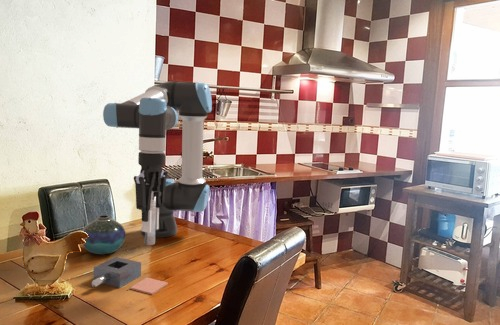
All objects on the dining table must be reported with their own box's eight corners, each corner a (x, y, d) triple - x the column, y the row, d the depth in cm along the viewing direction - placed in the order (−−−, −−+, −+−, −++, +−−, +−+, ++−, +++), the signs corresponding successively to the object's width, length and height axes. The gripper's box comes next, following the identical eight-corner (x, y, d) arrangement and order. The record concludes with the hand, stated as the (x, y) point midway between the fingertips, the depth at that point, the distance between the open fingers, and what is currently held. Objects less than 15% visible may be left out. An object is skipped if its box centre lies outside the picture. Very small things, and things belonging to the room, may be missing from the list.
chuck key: (161, 243, 118) (163, 191, 116) (155, 246, 115) (156, 193, 113) (144, 240, 120) (145, 188, 118) (137, 242, 117) (138, 190, 115)
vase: (99, 242, 155) (99, 209, 154) (133, 247, 151) (133, 214, 149) (71, 255, 141) (71, 219, 139) (108, 261, 136) (108, 224, 135)
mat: (146, 278, 124) (146, 277, 124) (168, 284, 122) (168, 282, 121) (130, 288, 117) (130, 287, 117) (152, 294, 114) (152, 293, 114)
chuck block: (116, 269, 130) (116, 256, 130) (140, 275, 127) (141, 262, 126) (81, 287, 116) (81, 273, 116) (107, 294, 113) (107, 280, 112)
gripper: (157, 148, 123) (155, 221, 126) (122, 152, 108) (121, 235, 111) (178, 150, 120) (175, 225, 123) (145, 155, 105) (143, 239, 108)
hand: (150, 229), depth 117 cm, fingers closed on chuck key, 3 cm apart
